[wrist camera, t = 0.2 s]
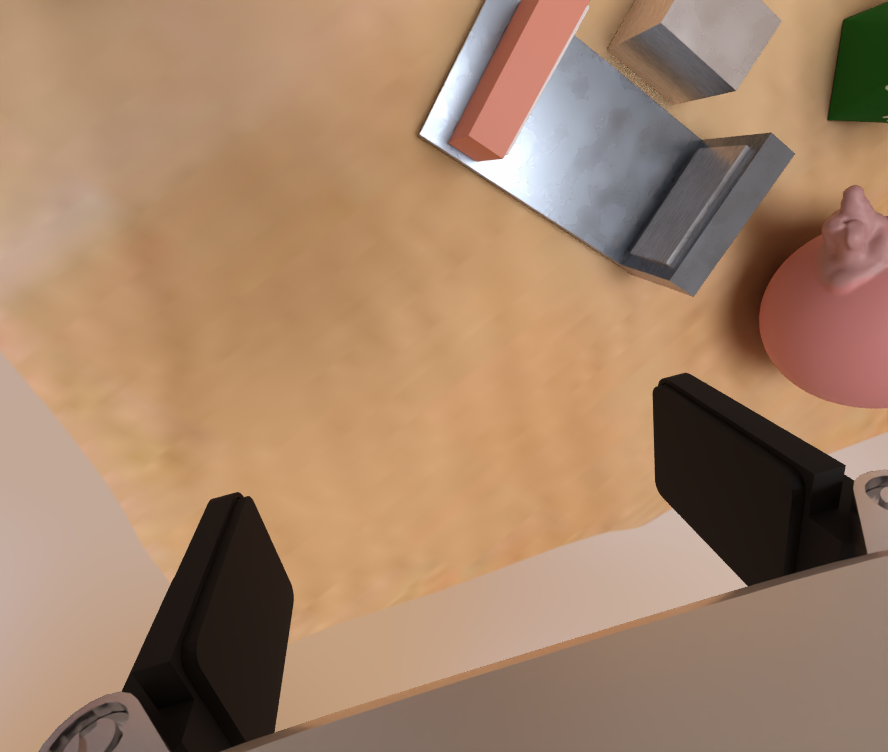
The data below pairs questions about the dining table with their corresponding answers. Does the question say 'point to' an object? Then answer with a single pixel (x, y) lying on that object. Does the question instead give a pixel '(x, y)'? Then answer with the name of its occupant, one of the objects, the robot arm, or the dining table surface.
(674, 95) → the steel block
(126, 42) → the dining table surface
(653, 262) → the metal base plate
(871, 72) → the milk carton
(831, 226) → the balloon
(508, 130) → the block
